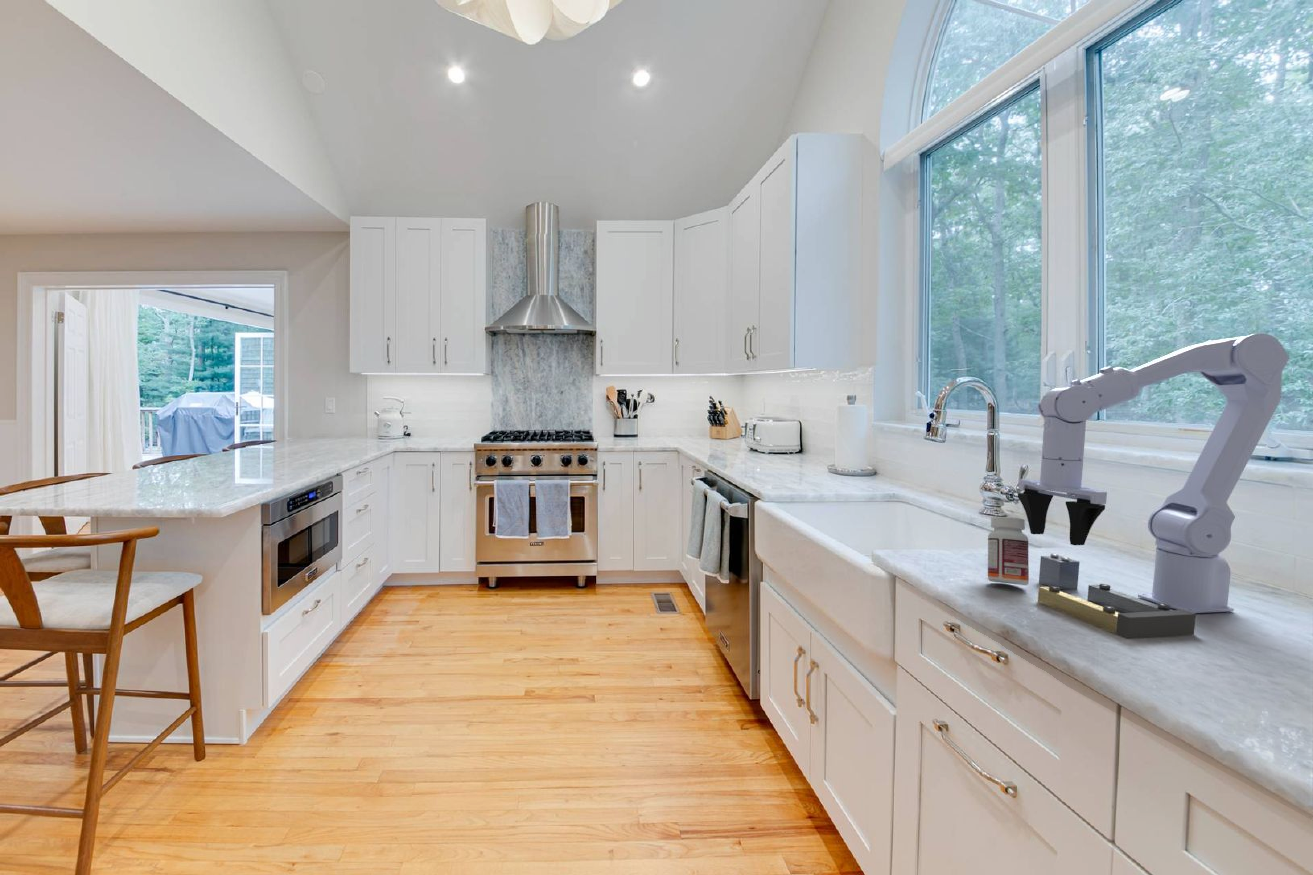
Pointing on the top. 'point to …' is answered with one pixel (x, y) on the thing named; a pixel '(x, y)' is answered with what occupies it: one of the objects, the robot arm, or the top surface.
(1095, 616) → the brass end link
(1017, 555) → the pill bottle
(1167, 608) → the steel end link
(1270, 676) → the top surface
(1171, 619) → the block
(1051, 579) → the grey bolted block
